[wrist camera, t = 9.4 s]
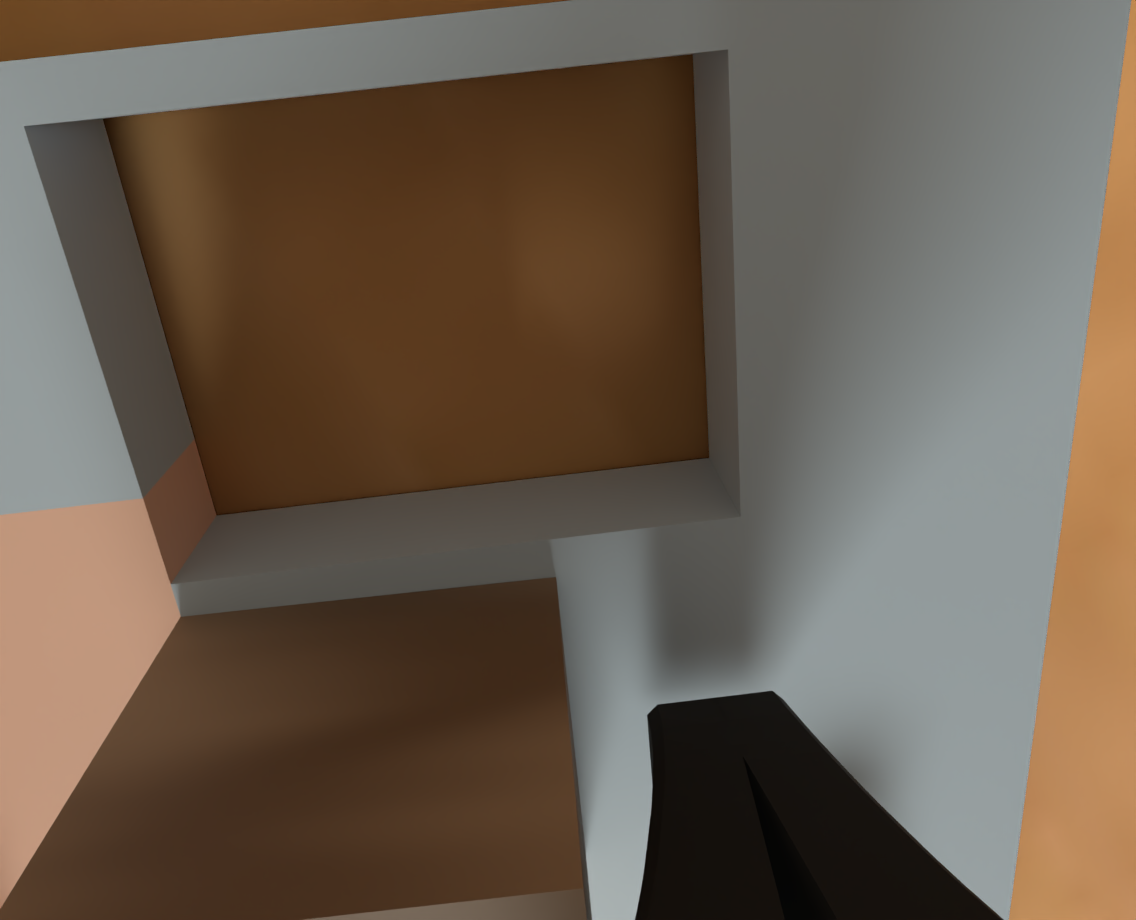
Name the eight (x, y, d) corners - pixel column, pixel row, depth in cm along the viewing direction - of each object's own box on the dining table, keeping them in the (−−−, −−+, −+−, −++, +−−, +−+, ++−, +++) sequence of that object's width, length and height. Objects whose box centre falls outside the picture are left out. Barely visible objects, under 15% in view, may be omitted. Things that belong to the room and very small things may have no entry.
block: (555, 577, 10) (583, 887, 6) (585, 853, 11) (621, 1235, 7) (181, 616, 9) (-29, 955, 6) (264, 890, 11) (140, 1293, 7)
